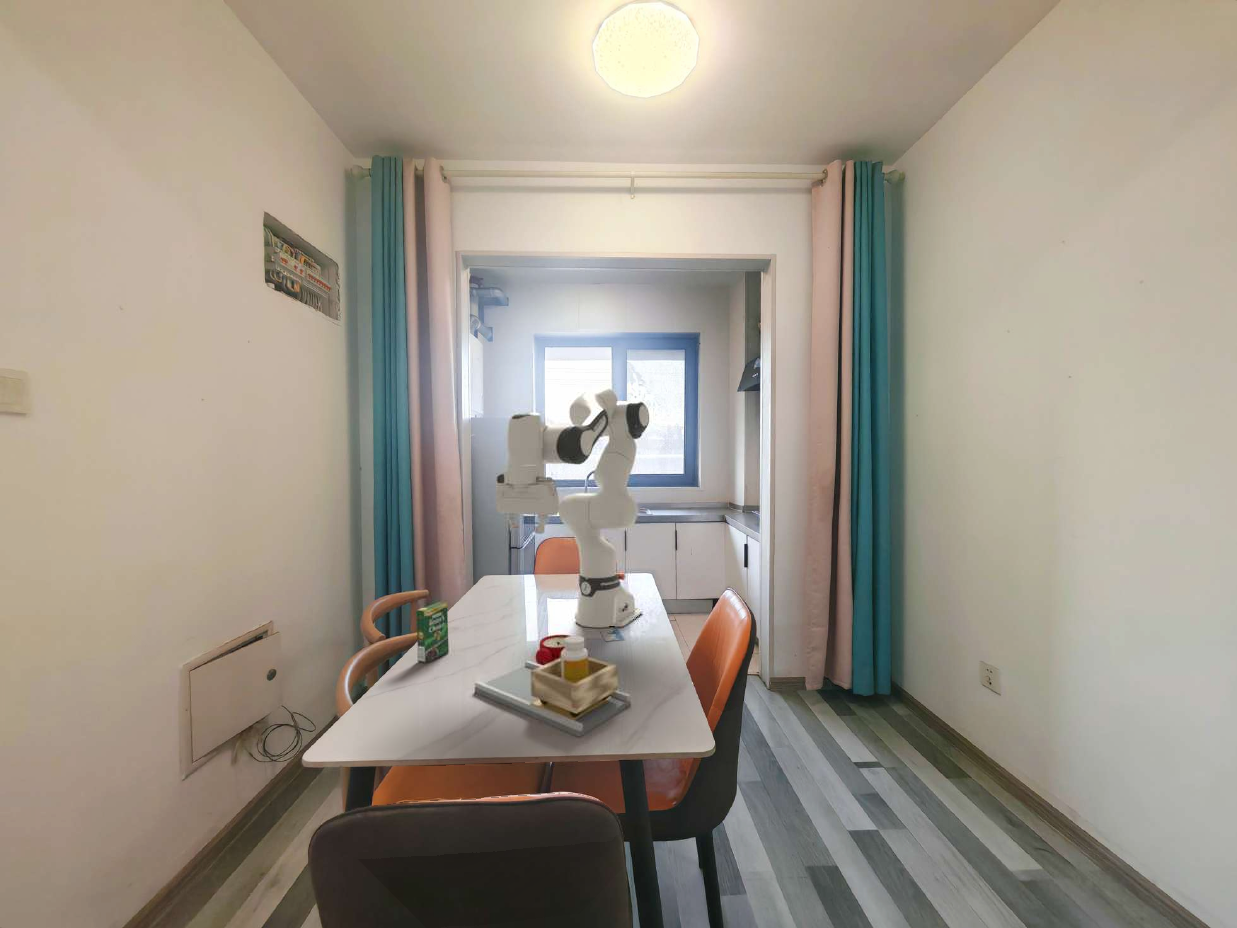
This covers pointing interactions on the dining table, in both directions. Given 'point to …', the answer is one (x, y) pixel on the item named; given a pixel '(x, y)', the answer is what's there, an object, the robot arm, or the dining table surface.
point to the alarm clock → (550, 649)
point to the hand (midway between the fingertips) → (526, 532)
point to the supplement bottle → (574, 659)
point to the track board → (517, 695)
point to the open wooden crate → (574, 685)
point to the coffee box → (432, 632)
